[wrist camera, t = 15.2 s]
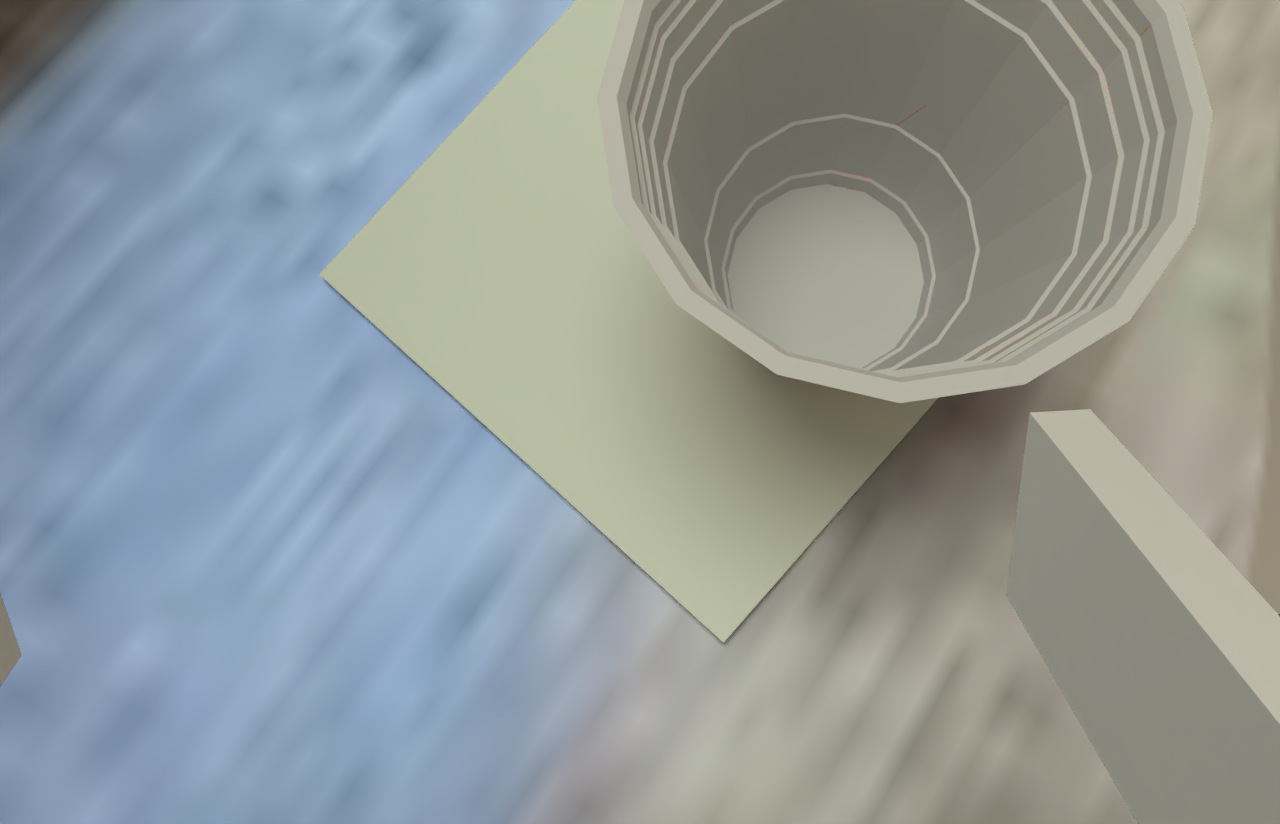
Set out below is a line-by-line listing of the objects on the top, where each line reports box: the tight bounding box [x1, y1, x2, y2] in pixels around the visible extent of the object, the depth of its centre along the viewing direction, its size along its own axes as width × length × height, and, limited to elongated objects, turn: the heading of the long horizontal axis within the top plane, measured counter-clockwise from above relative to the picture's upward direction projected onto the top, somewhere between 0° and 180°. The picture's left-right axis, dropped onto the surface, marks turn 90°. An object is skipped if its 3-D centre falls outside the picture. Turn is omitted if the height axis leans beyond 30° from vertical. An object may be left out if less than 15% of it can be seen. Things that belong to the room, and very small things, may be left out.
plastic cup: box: [597, 0, 1213, 403], centre depth 26 cm, size 11×11×12 cm
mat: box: [319, 0, 938, 643], centre depth 33 cm, size 16×16×1 cm
